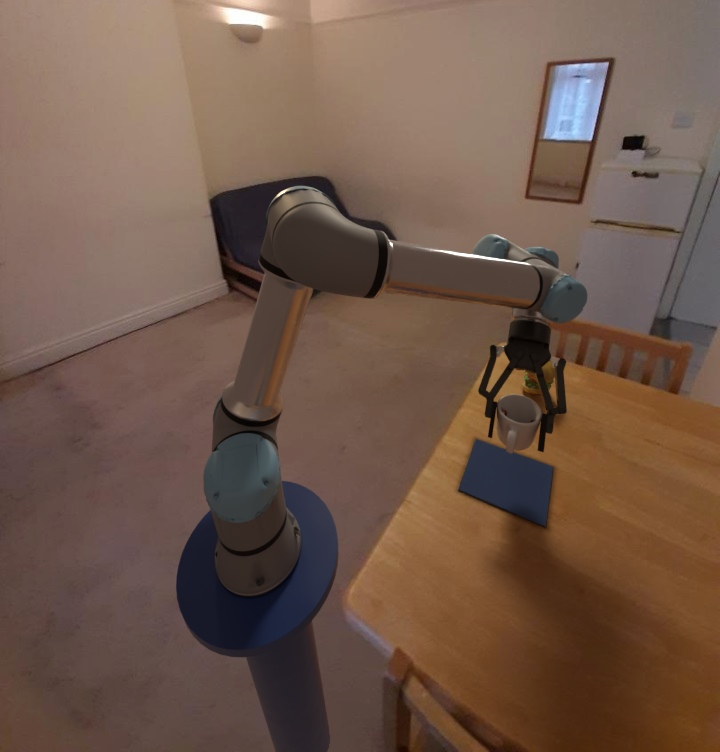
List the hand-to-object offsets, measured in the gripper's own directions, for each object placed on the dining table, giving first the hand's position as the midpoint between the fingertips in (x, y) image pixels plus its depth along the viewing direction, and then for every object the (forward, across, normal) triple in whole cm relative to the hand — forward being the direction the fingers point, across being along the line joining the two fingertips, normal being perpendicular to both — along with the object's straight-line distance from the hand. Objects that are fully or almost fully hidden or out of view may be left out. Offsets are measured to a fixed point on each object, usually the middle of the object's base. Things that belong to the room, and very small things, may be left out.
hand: (514, 444), depth 73 cm
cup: (0, 0, +5) cm, 5 cm away
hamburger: (-16, +5, +29) cm, 34 cm away
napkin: (+7, 0, +12) cm, 14 cm away
